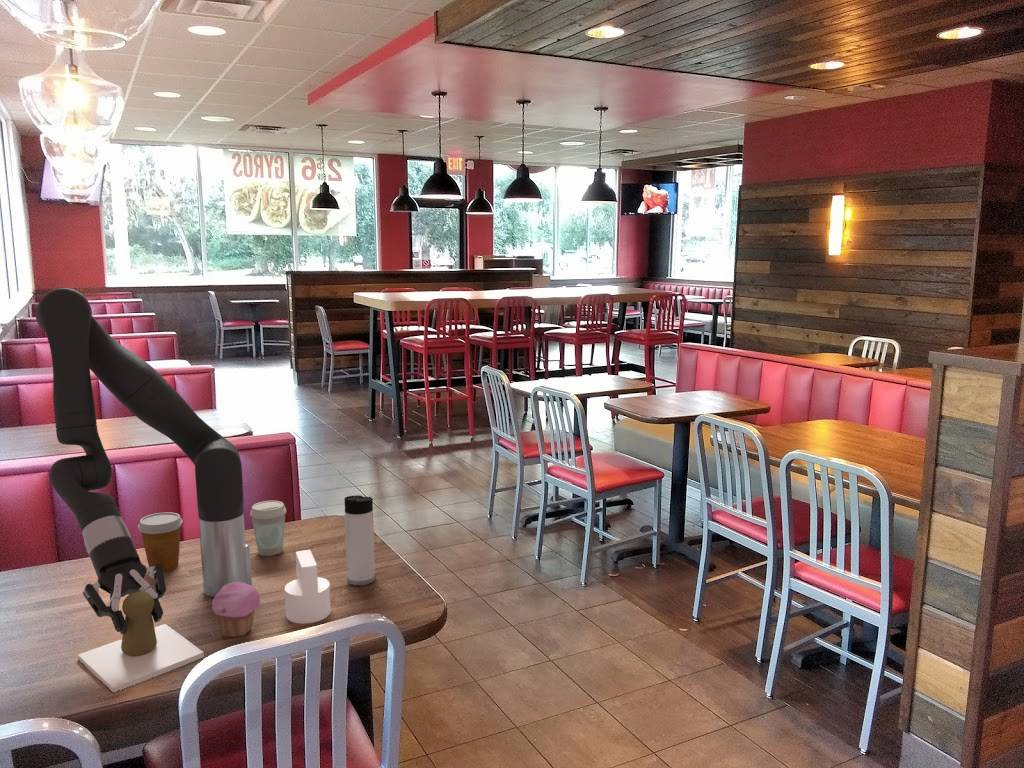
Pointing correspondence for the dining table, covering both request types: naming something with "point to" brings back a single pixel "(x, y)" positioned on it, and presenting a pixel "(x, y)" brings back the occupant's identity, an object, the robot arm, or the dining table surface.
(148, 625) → the cork
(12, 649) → the dining table surface
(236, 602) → the cupcake
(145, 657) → the white mat
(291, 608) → the cylinder with rectangular tab
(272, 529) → the coffee cup
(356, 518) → the travel mug
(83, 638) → the dining table surface
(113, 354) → the robot arm
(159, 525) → the disposable coffee cup
